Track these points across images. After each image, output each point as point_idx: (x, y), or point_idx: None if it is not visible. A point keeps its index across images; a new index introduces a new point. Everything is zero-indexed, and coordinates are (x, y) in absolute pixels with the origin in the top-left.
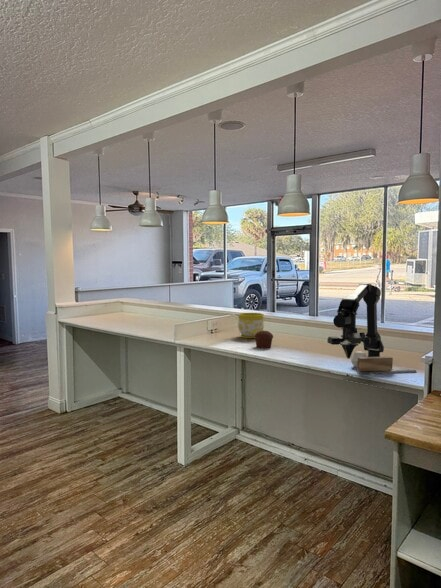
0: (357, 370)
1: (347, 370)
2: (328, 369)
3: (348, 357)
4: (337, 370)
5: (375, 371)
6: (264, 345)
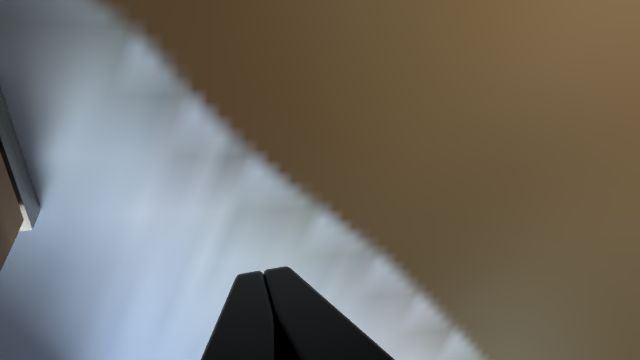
0: (24, 217)
1: (165, 303)
2: (403, 329)
3: (283, 280)
4: None
5: None
6: None
